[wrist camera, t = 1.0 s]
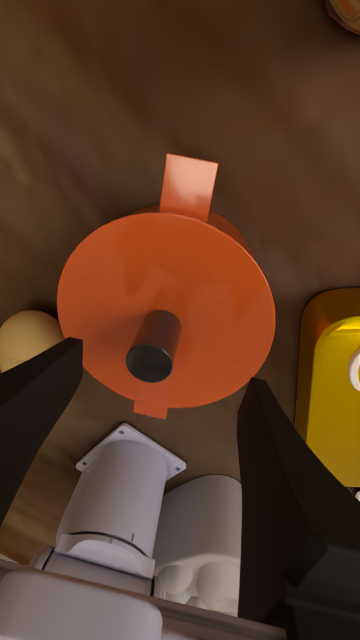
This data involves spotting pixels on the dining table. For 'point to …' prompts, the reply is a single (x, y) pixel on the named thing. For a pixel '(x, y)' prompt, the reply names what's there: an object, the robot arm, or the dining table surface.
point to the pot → (188, 212)
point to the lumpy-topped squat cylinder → (201, 544)
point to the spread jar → (358, 495)
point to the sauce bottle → (345, 13)
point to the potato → (27, 337)
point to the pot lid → (167, 309)
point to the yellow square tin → (331, 382)
